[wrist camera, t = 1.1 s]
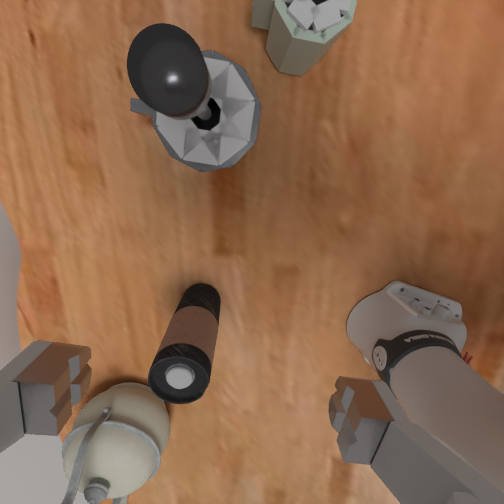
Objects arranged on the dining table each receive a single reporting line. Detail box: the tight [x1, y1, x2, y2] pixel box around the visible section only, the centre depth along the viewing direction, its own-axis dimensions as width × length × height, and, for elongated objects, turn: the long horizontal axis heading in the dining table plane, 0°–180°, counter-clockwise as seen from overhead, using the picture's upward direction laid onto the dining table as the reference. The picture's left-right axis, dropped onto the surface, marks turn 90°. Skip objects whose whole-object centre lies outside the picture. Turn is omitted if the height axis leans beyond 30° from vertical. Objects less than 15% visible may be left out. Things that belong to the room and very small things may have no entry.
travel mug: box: [148, 284, 221, 404], centre depth 43 cm, size 8×8×20 cm
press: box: [131, 50, 261, 172], centre depth 34 cm, size 13×11×18 cm
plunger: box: [127, 23, 212, 120], centre depth 19 cm, size 4×4×13 cm
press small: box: [251, 0, 357, 76], centre depth 33 cm, size 10×8×14 cm
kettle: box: [62, 382, 170, 504], centre depth 49 cm, size 25×18×25 cm
